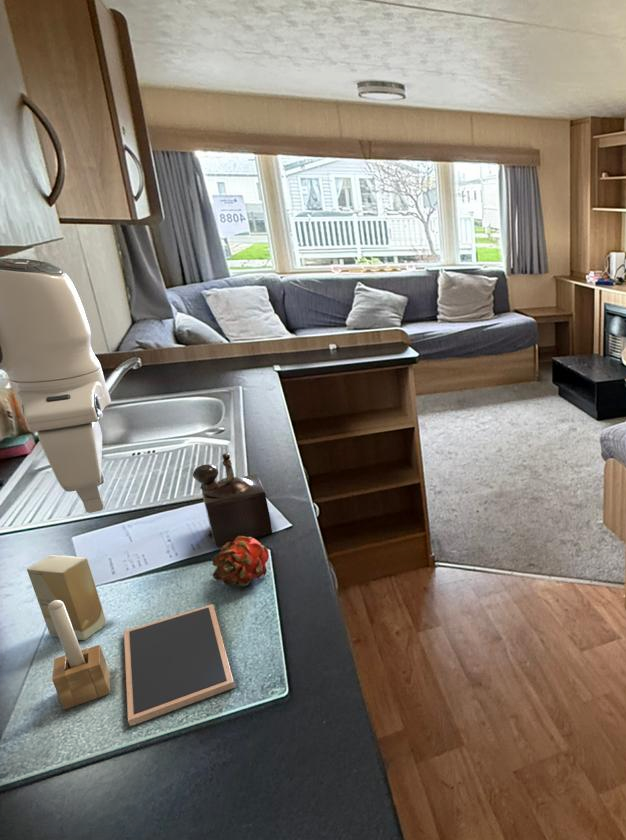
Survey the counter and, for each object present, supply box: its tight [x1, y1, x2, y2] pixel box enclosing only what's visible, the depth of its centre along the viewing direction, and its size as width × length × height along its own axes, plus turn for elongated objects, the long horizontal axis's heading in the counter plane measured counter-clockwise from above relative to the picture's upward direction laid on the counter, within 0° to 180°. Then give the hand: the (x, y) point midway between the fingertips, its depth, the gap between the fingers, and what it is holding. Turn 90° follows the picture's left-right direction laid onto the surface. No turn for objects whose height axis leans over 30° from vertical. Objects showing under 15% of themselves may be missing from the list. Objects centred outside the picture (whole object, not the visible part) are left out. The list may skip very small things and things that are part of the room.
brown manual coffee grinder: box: [192, 452, 273, 548], centre depth 124 cm, size 16×11×18 cm
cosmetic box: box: [26, 554, 108, 641], centre depth 98 cm, size 6×4×12 cm
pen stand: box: [51, 644, 111, 710], centre depth 88 cm, size 5×5×5 cm
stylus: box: [48, 600, 86, 668], centre depth 86 cm, size 2×2×15 cm
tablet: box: [123, 603, 236, 727], centre depth 94 cm, size 12×22×1 cm, turn 35°
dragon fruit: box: [211, 536, 270, 587], centre depth 113 cm, size 8×8×12 cm
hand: (96, 496), depth 85 cm, fingers open, 8 cm apart
